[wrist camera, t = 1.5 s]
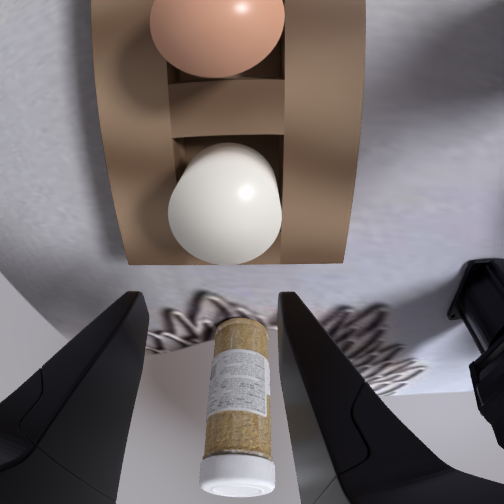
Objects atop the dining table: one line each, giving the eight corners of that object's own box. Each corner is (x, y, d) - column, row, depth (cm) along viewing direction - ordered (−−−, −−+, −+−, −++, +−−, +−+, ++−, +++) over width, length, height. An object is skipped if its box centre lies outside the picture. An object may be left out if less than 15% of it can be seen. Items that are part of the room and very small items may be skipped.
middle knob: (278, 73, 12) (284, 76, 9) (173, 77, 12) (152, 83, 10) (277, -22, 10) (283, -41, 7) (170, -15, 10) (149, -31, 7)
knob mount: (329, 227, 21) (342, 263, 18) (146, 229, 21) (128, 265, 18) (333, -122, 8) (349, -151, 4) (128, -111, 8) (104, -136, 4)
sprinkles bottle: (254, 356, 28) (254, 501, 17) (206, 341, 27) (189, 492, 16) (279, 324, 26) (290, 487, 15) (227, 307, 25) (214, 479, 14)
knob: (275, 228, 16) (279, 264, 14) (187, 230, 16) (175, 265, 14) (277, 141, 14) (283, 163, 11) (177, 145, 14) (161, 166, 11)
